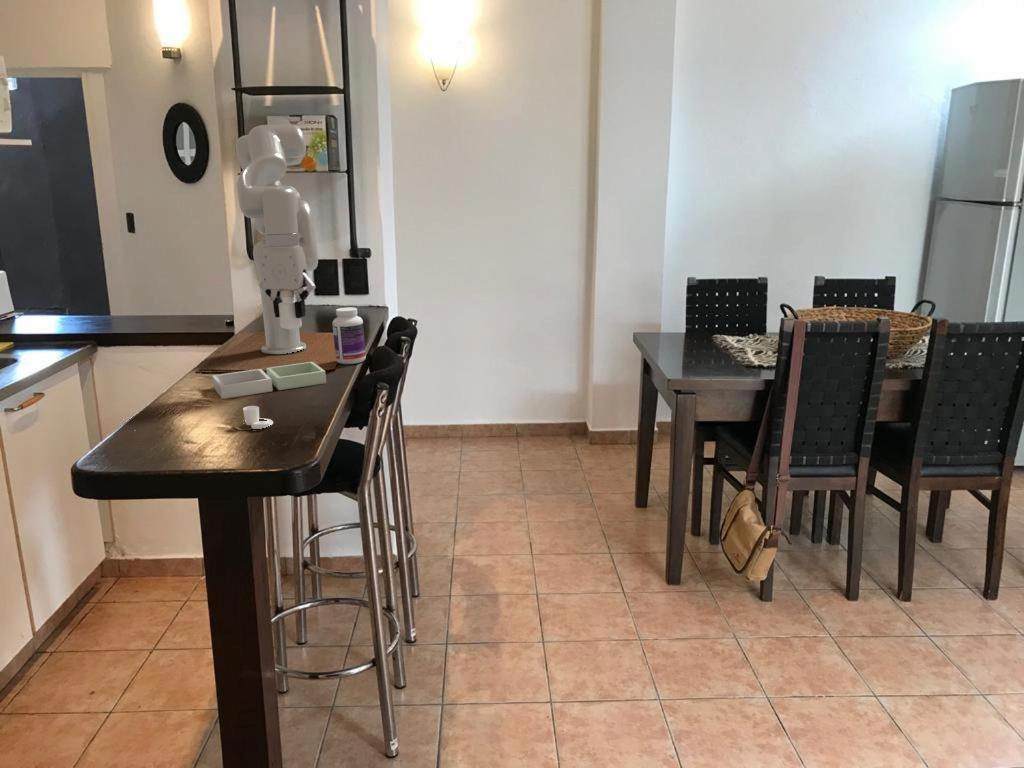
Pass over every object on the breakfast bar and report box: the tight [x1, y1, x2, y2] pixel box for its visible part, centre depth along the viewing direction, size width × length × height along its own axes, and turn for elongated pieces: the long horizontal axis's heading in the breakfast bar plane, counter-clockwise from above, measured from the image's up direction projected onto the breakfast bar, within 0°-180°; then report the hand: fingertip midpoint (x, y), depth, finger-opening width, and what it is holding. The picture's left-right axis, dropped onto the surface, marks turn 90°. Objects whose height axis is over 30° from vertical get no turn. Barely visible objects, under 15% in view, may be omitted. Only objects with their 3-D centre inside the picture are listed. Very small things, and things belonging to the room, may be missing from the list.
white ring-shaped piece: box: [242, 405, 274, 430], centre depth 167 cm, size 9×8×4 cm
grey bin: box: [211, 368, 274, 400], centre depth 194 cm, size 12×12×3 cm
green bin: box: [266, 361, 327, 391], centre depth 200 cm, size 12×12×3 cm
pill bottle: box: [331, 306, 367, 365], centre depth 217 cm, size 8×8×14 cm
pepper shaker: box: [278, 290, 303, 330], centre depth 196 cm, size 4×4×10 cm
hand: (290, 316), depth 196 cm, fingers closed on pepper shaker, 5 cm apart
